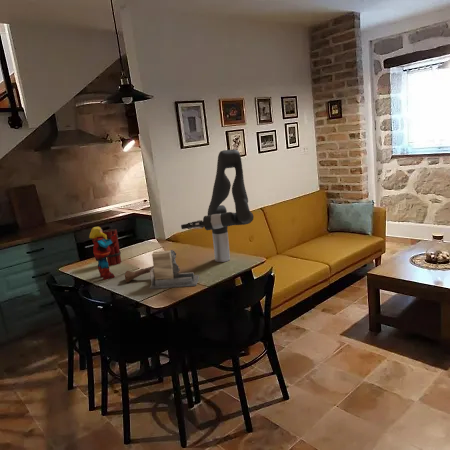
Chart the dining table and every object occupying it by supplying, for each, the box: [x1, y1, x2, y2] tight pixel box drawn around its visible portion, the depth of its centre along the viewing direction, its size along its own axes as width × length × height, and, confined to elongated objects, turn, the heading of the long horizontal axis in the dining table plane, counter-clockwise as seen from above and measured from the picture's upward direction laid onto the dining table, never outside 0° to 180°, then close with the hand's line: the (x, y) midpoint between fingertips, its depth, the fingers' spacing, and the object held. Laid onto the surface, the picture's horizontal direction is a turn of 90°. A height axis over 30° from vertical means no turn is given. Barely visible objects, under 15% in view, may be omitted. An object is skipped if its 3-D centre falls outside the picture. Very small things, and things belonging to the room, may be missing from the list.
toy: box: [88, 226, 117, 281], centre depth 230 cm, size 15×15×30 cm
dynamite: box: [102, 218, 122, 266], centre depth 257 cm, size 10×9×30 cm
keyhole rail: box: [149, 268, 200, 290], centre depth 213 cm, size 14×24×8 cm, turn 87°
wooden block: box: [151, 250, 174, 280], centre depth 212 cm, size 4×9×16 cm, turn 87°
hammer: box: [124, 249, 181, 283], centre depth 223 cm, size 15×10×30 cm
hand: (184, 227), depth 210 cm, fingers open, 8 cm apart
